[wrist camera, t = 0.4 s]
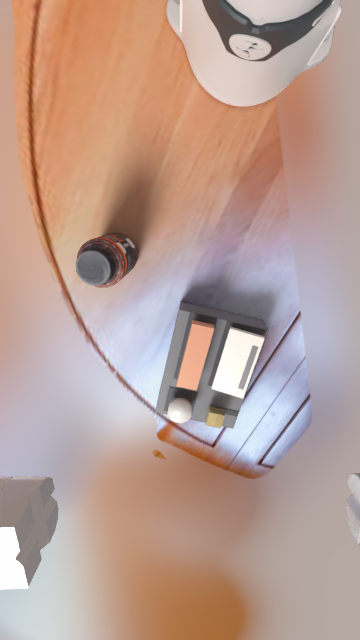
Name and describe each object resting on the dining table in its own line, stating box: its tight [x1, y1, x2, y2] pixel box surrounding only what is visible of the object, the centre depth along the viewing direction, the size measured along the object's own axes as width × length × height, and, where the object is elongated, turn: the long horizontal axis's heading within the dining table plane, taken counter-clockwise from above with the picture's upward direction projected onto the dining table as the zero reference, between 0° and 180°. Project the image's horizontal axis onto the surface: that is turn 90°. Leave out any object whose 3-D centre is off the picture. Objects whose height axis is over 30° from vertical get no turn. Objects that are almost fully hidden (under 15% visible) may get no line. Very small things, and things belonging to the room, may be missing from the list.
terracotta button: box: [176, 320, 214, 391], centre depth 42 cm, size 10×3×1 cm, turn 167°
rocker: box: [212, 327, 265, 399], centre depth 43 cm, size 10×5×1 cm, turn 168°
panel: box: [156, 302, 268, 428], centre depth 47 cm, size 18×13×4 cm
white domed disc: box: [168, 398, 192, 423], centre depth 45 cm, size 4×4×1 cm
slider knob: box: [205, 406, 225, 428], centre depth 46 cm, size 2×2×2 cm
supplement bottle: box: [76, 233, 137, 288], centre depth 38 cm, size 6×6×11 cm
